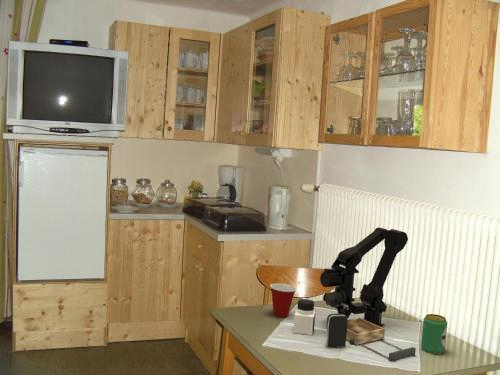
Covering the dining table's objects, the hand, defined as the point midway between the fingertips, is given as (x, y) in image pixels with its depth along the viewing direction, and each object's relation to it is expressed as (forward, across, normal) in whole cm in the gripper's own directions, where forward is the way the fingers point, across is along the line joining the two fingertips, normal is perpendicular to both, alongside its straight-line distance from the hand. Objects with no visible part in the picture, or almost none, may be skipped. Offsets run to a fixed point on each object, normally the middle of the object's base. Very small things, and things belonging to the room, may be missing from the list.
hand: (342, 324), depth 210 cm
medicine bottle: (+2, -5, -15) cm, 16 cm away
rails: (+2, +16, 0) cm, 16 cm away
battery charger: (+2, +11, -14) cm, 18 cm away
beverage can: (+2, +30, +16) cm, 34 cm away
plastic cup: (+2, -23, -12) cm, 26 cm away
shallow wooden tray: (+2, +8, 0) cm, 8 cm away
